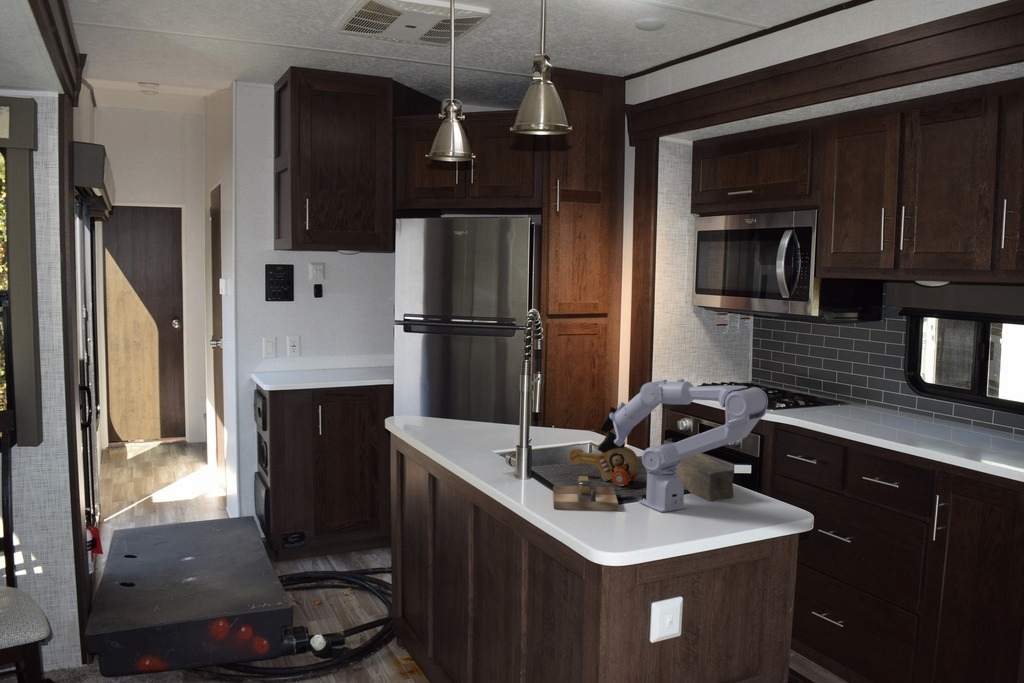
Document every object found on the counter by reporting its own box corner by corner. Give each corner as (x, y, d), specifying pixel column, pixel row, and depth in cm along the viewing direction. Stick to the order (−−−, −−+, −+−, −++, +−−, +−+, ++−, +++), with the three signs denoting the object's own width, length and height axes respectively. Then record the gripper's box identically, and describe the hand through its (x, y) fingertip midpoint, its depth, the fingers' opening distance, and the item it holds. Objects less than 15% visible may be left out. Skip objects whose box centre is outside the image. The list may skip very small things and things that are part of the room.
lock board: (613, 494, 220) (613, 477, 220) (617, 510, 207) (618, 492, 206) (553, 492, 221) (553, 476, 221) (553, 509, 207) (554, 491, 207)
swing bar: (591, 493, 212) (591, 484, 212) (578, 493, 212) (578, 483, 212) (589, 483, 221) (589, 474, 221) (577, 483, 222) (577, 473, 221)
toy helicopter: (630, 489, 225) (632, 440, 224) (562, 478, 236) (563, 431, 234) (641, 482, 232) (642, 434, 231) (574, 472, 243) (575, 426, 241)
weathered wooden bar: (675, 475, 243) (680, 442, 242) (736, 504, 219) (742, 468, 218) (647, 476, 238) (652, 442, 237) (706, 505, 215) (711, 468, 214)
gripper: (622, 386, 220) (592, 414, 228) (619, 424, 209) (587, 452, 217) (643, 399, 222) (612, 427, 230) (641, 437, 211) (609, 465, 219)
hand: (602, 440), depth 223 cm, fingers open, 7 cm apart
